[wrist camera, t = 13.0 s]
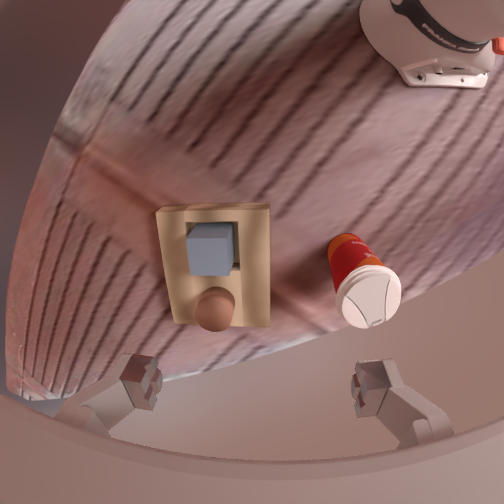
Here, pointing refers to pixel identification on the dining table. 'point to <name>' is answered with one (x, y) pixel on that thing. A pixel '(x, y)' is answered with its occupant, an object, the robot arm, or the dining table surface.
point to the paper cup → (362, 283)
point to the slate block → (211, 249)
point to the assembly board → (218, 287)
